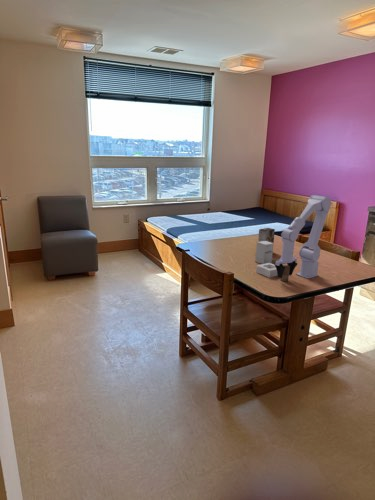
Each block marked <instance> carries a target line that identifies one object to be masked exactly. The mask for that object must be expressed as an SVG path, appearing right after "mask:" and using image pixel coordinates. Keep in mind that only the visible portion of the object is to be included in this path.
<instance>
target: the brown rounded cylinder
mask: <svg viewBox="0 0 375 500" xmlns="http://www.w3.org/2000/svg"><path fill="white" fill-rule="evenodd" d="M283 266H285V269H284V271H283V276H282V278H280V282H283V283H287V282H289V277H290V275H289V270H290V266H288V265H287V264H283Z"/></svg>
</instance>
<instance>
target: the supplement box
mask: <svg viewBox="0 0 375 500" xmlns="http://www.w3.org/2000/svg"><path fill="white" fill-rule="evenodd" d="M255 247H256V248H255V257H254V259H255V260H254V261H255V262H256V263H258V264H259V265H261V264H266V263H271V262H272V260H273V254H274V253H273V250H274V243H271V242H268V241H261V242H258V241H257V242H256V246H255Z"/></svg>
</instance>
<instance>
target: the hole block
mask: <svg viewBox="0 0 375 500" xmlns="http://www.w3.org/2000/svg"><path fill="white" fill-rule="evenodd" d="M255 271H256V274H259V275H262V276H265V277H267V278H268V279H269V278H273V277H278V274H277V269H276V267H275V265H274V264H271V263H266V264H257V265H256V269H255Z"/></svg>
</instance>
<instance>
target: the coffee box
mask: <svg viewBox="0 0 375 500" xmlns="http://www.w3.org/2000/svg"><path fill="white" fill-rule="evenodd" d="M275 229H276V228H270V227H264V228H260V229H259V230H258V241H257V242H261V241H268V242H271V243H274V241H275V231H276V230H275Z"/></svg>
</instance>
